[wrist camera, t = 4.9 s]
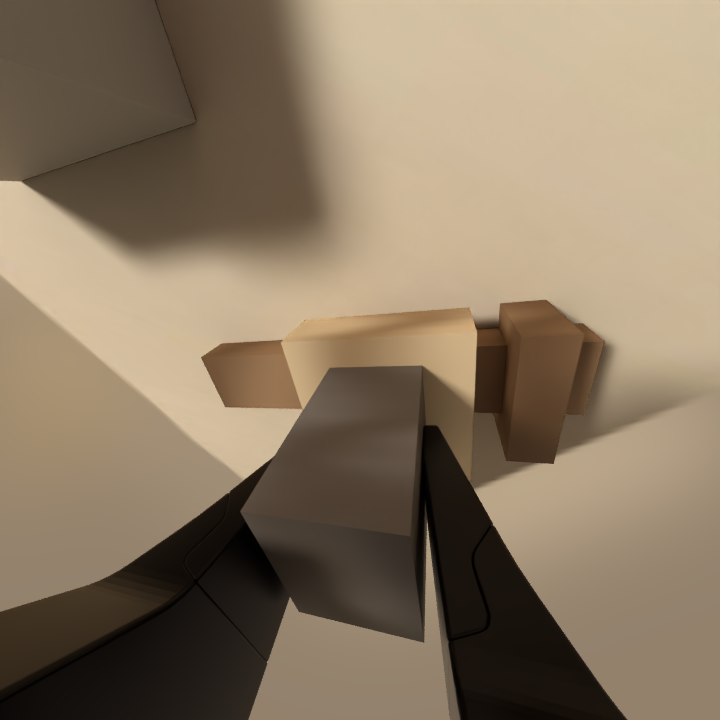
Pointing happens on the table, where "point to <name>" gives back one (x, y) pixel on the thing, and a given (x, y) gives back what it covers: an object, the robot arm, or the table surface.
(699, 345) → the table surface
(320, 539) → the block stack
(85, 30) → the grey slotted box
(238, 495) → the robot arm
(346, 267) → the table surface
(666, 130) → the table surface
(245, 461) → the table surface
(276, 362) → the rail
